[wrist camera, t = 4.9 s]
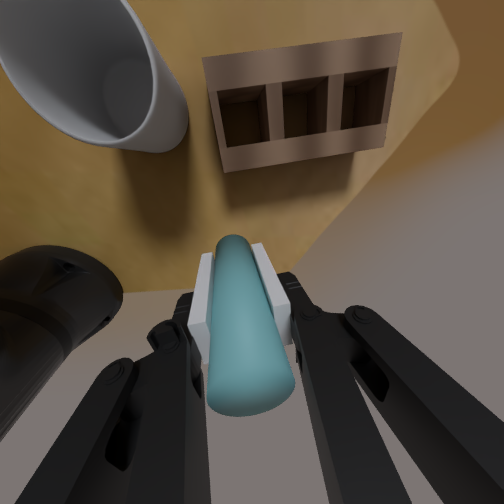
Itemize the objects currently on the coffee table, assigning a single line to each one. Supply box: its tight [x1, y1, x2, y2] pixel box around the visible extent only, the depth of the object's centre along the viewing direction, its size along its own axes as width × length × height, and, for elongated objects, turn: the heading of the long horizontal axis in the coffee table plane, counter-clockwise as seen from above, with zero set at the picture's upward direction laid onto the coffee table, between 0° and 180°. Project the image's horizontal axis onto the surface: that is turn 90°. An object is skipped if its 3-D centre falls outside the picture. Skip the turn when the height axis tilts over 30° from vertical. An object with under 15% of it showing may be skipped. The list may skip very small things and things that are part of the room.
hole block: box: [202, 32, 403, 173], centre depth 20 cm, size 18×9×5 cm, turn 99°
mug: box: [0, 0, 189, 153], centre depth 15 cm, size 12×8×11 cm
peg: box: [207, 235, 295, 417], centre depth 11 cm, size 3×3×11 cm
